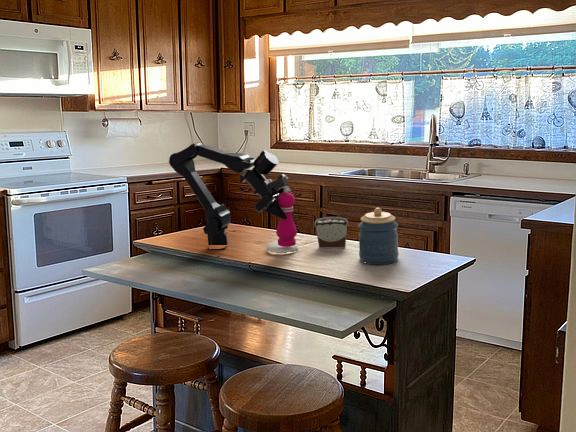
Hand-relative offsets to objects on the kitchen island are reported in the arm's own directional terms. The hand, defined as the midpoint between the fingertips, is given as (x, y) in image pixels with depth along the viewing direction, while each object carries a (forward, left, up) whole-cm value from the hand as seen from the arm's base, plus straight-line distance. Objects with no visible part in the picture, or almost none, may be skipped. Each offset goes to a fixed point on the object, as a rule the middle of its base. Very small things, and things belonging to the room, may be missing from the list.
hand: (289, 216), depth 222 cm
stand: (-3, +5, -13) cm, 14 cm away
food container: (+15, +8, -14) cm, 21 cm away
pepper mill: (-2, 0, -10) cm, 10 cm away
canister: (+29, -11, -14) cm, 34 cm away
